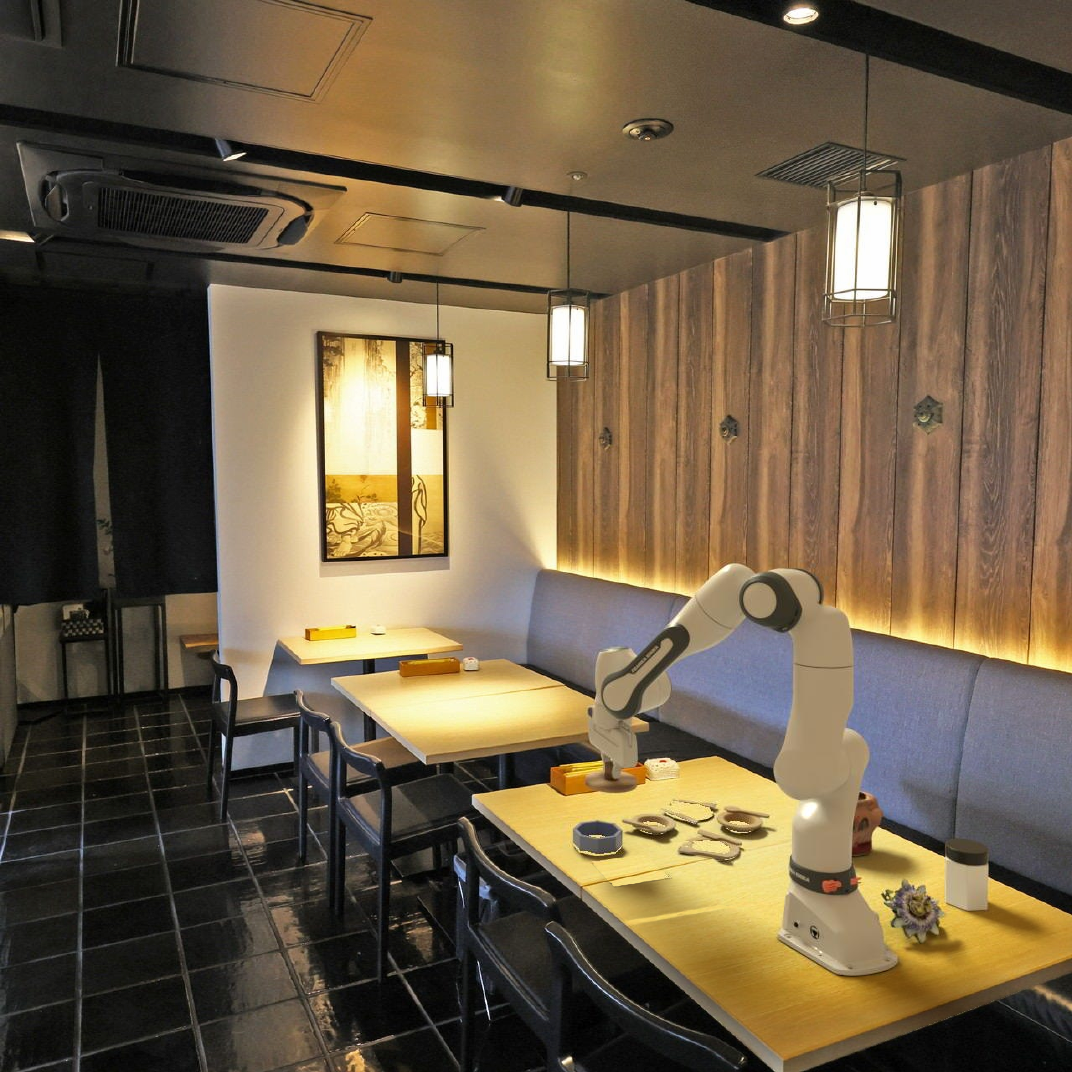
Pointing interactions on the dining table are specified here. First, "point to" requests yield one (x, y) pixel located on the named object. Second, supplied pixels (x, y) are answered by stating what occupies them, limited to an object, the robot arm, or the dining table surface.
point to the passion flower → (914, 910)
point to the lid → (610, 780)
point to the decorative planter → (865, 823)
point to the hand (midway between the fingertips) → (611, 774)
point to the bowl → (598, 845)
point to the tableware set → (722, 818)
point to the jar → (966, 874)
